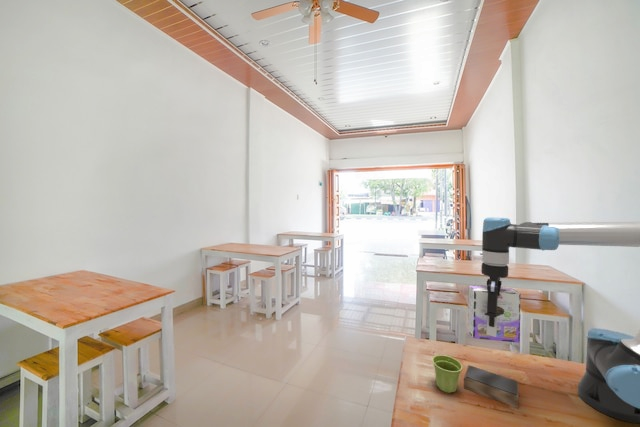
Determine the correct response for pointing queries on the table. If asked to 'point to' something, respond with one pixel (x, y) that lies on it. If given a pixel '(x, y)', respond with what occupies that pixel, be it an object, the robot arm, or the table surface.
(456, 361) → the plant pot
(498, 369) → the table surface
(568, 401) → the table surface
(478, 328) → the candy box
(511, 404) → the plinth
